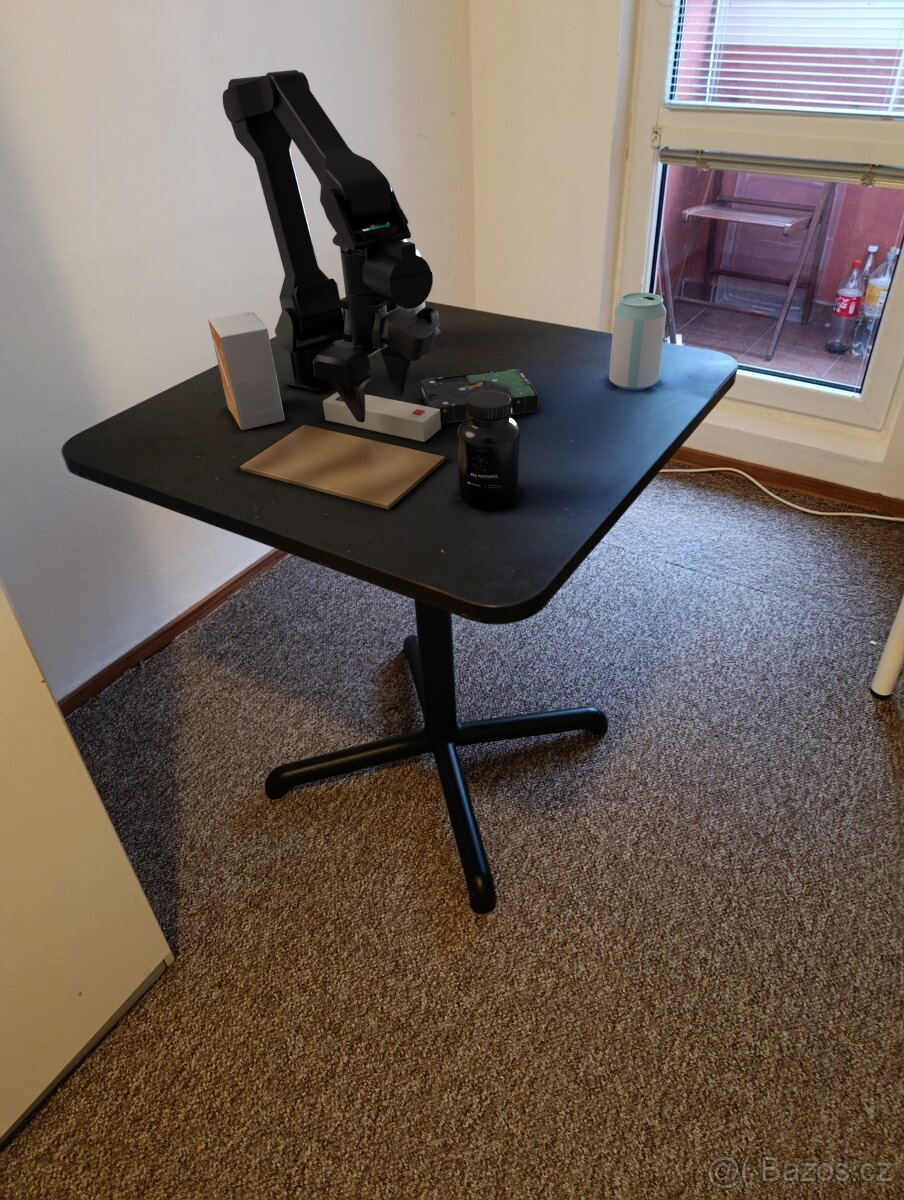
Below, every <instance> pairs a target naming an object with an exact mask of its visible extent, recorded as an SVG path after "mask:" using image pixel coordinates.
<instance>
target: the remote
mask: <svg viewBox="0 0 904 1200" xmlns="http://www.w3.org/2000/svg"><path fill="white" fill-rule="evenodd" d="M322 407H323V414H324V419H325V421H328V422H333V423H336V424H342V425H346V426H350V427H355V428H360V429H364V430H368V431H372V432H377V433H382V434H387V435H391V436H395V437H400V438H405V439H409V440H413V441H418V442H423V443H424V442H427V440H429V439H430V438H431V437H433V436H434V435H435V434H436V433H437V432H439V431H440V430H441V429H442V424H441V420H440V409H436V408H431V407H426V405H422V404H416V403H411V402H407V401H406V402H405V401H402V400H401V401H400V400H396V399H391V398H385V397H381V396H376V395H372V394H371V395H370V394H366V393H365V422H363V423H362V422H358V421H357V420H356V419H355V418H354V416H353V414H352V413H351V411H350V410H349V408H348V407H347V405H346V404H345V402H344V401H343V399H342V398H341V397H340V395H339V394H338V392H337V391H336V392H335V393H333V394H332V395H330V396H328V397H327V398H325V399H323V400H322Z"/></svg>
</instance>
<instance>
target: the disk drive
mask: <svg viewBox="0 0 904 1200" xmlns="http://www.w3.org/2000/svg"><path fill="white" fill-rule="evenodd" d="M480 391H499V392H503V393H505V394H507V395H508V396H510V398H511V410H512V416H515V415H521V414H526V413H527V414H528V413H534V412H538V411H539V403H540V394H539V392H538V391H537V390H536V389H535V388H534V386H533V384H532V382H531V381H530V380H528V379H527V377H526V376H525V375H524V372H523V373H522V369H520V368H517V369H515V368H514V369H498V370H493V371H491V370H490V371H482V372H474V373H473V372H472V373H465V374H457V375H448V376H441V377H438V376H437V377H430V378H425V379H420V393H421V394H420V395H421V397H422V400H423V402H424V404H425V406H426V407H431V408H436V409H440V420H441V425H442V424H450V423H458V422H463V421H464V420H465V419H466V418H467V416H466V410H467V398H468V397H469V396H470V395H472V394H474V393H476V392H480Z"/></svg>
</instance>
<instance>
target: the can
mask: <svg viewBox="0 0 904 1200" xmlns="http://www.w3.org/2000/svg"><path fill="white" fill-rule="evenodd" d="M663 303H664V299H663V297H662V296H661V295H658V294H656V293H652V292H641V291H640V292H630V293H626V294H623V295H622V296H620V298H619V303H618V304H617V305H616V306H615V308H614V310H613V323H612V335H611V345H610V346H611V348H610V359H609V360H610V361H609V372H608V379H609V381H610V382H611V383H612V384H614V385H615V386H616V387H617V388H620V389H623V390H628V391H641V390H646V389H648V388H650V387H652V386H653V385H656V384H657V383H658V382H659V379H660V371H661V362H662V354H663V345H664V337H665V330H666V329H665V328H666V321H667V309H666V307H665V305H664V304H663Z"/></svg>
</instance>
